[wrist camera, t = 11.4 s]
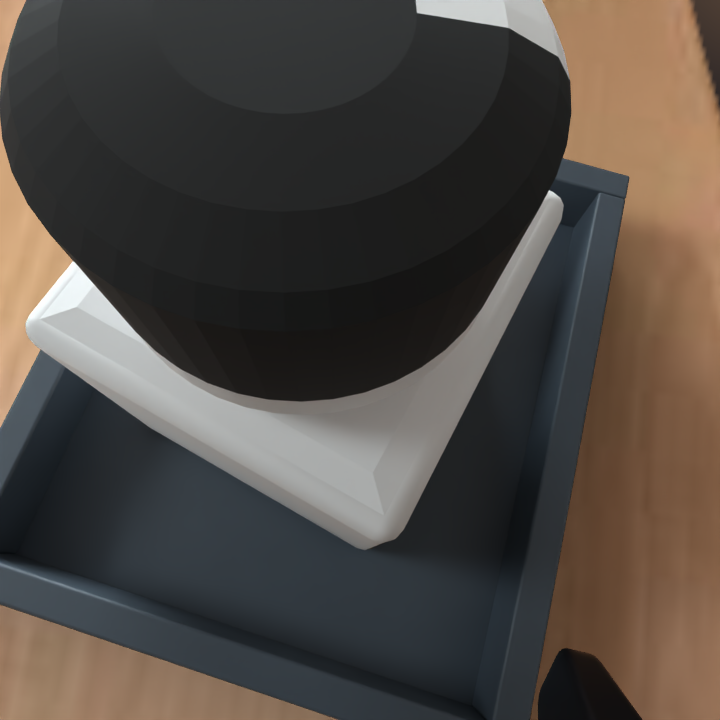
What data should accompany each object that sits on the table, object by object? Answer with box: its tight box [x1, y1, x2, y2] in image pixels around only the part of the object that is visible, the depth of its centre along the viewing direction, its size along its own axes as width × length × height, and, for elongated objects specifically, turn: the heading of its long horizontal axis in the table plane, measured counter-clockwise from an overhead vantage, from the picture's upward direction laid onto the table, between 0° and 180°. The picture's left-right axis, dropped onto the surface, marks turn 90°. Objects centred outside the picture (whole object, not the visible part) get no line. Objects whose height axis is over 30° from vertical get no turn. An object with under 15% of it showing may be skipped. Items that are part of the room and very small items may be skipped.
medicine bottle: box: [0, 0, 571, 550], centre depth 11 cm, size 7×7×12 cm
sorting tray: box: [0, 158, 629, 720], centre depth 16 cm, size 16×14×2 cm
